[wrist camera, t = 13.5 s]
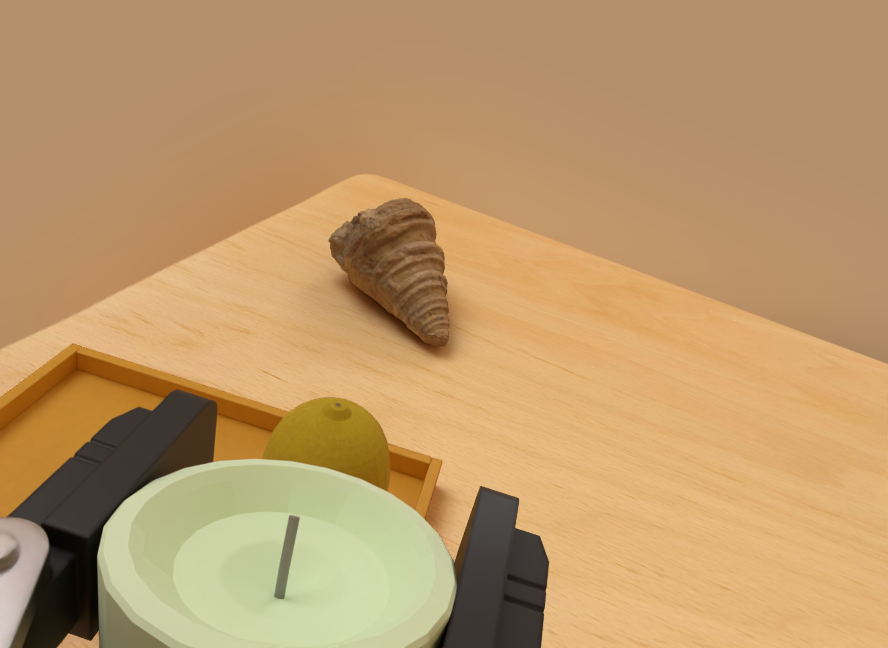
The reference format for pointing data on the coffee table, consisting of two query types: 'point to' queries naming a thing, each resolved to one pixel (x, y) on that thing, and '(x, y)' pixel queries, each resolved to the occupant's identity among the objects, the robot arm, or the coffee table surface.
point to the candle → (270, 563)
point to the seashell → (398, 265)
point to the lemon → (333, 440)
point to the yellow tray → (132, 385)
